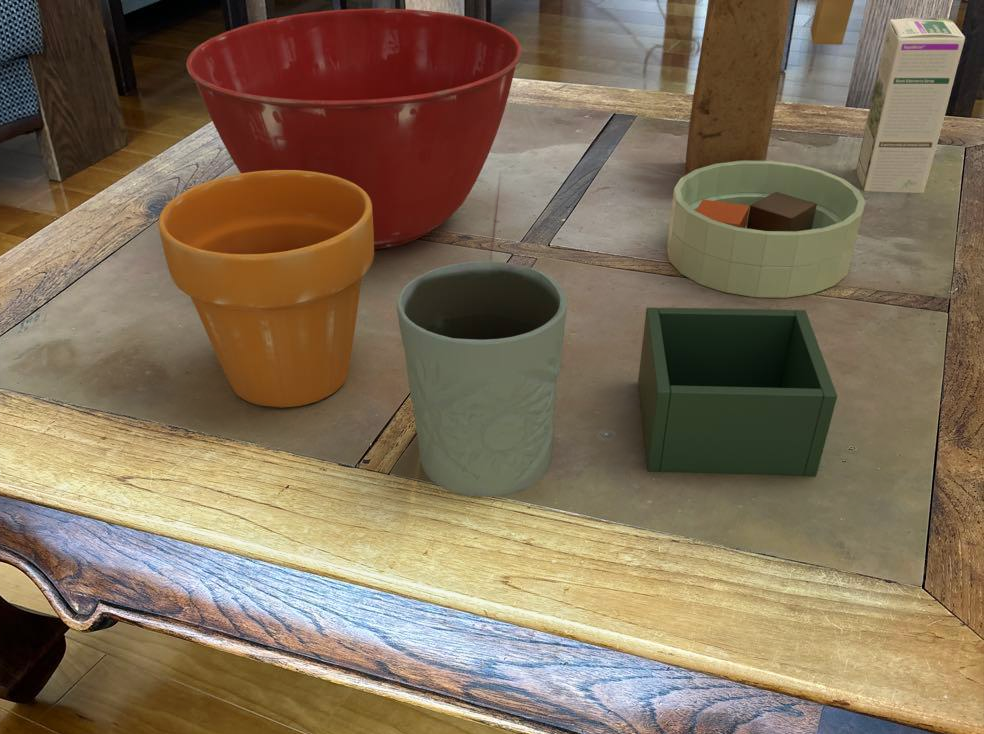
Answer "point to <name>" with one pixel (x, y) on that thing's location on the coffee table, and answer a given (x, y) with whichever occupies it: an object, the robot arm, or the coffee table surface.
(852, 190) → the bowl
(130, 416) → the coffee table surface
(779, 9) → the block
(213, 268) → the flower pot
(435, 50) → the mixing bowl
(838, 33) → the stirring stick
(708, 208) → the terracotta block
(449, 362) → the grey green cup
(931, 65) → the syrup box
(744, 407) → the box
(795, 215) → the walnut block
